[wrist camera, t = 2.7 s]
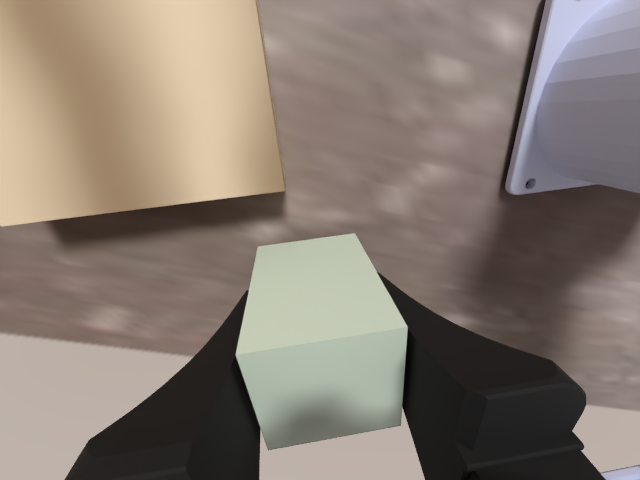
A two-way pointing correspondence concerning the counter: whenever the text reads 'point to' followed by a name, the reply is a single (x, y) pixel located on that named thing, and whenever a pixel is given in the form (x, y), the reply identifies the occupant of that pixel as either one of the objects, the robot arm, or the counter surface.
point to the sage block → (321, 343)
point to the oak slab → (132, 106)
